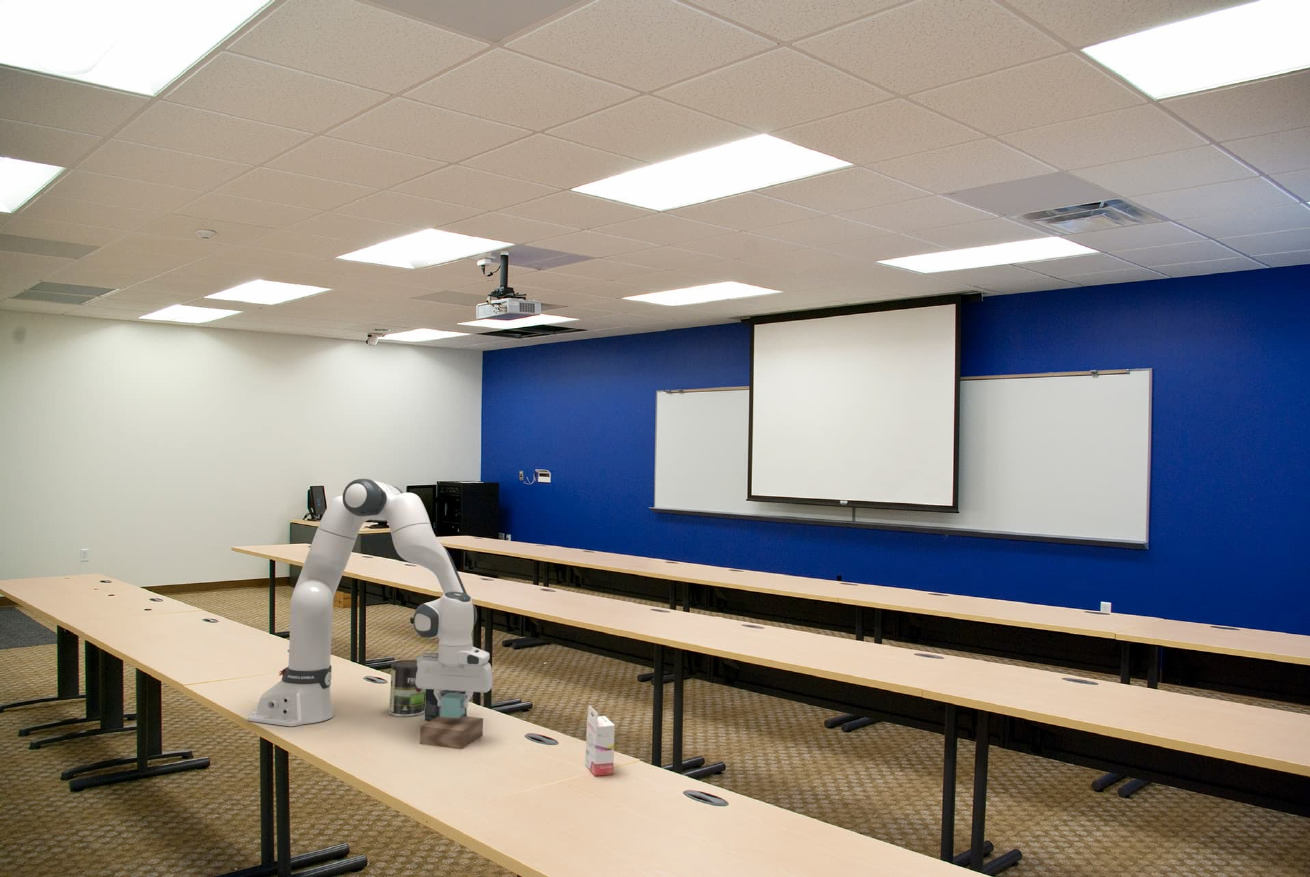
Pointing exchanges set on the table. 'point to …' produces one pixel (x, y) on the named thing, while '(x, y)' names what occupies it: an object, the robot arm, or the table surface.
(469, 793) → the table surface
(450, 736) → the walnut base block
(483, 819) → the table surface
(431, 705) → the small box
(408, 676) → the coffee can
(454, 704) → the teal cube
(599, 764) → the ink cartridge box
